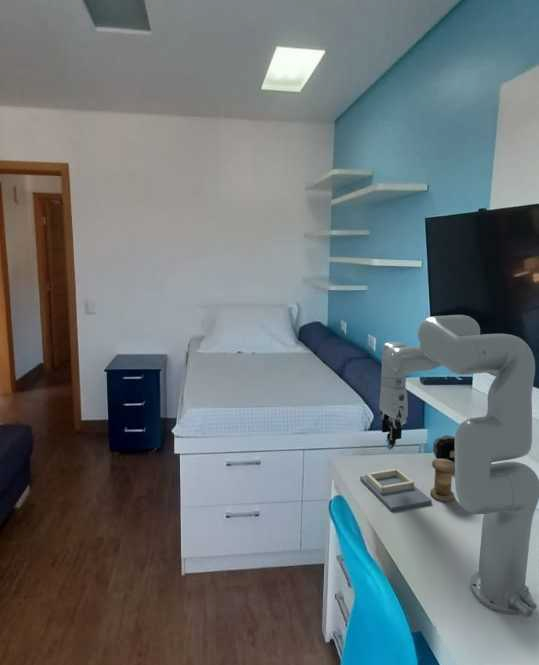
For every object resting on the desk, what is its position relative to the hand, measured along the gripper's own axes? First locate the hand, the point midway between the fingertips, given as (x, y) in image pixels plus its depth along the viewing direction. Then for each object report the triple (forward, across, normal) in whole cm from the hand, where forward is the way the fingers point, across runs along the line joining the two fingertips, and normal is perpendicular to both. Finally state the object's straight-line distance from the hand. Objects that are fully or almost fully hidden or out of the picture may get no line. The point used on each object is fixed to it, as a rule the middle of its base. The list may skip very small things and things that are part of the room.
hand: (391, 434), depth 151 cm
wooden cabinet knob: (+18, -10, -13) cm, 24 cm away
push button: (+4, 0, 0) cm, 4 cm away
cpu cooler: (+19, +8, -29) cm, 35 cm away
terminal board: (+18, -3, 0) cm, 18 cm away
